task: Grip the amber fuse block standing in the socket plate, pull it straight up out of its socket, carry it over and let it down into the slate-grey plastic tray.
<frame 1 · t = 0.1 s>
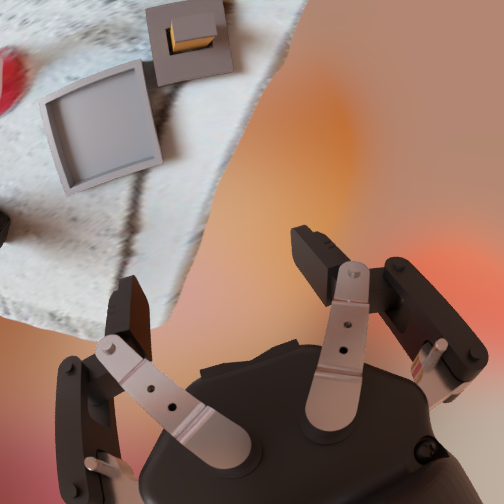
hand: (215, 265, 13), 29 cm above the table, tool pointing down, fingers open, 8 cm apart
grey tray: (101, 126, 31), on the table
socket plate: (187, 41, 28), on the table
amber fuse: (190, 34, 25), in the socket plate
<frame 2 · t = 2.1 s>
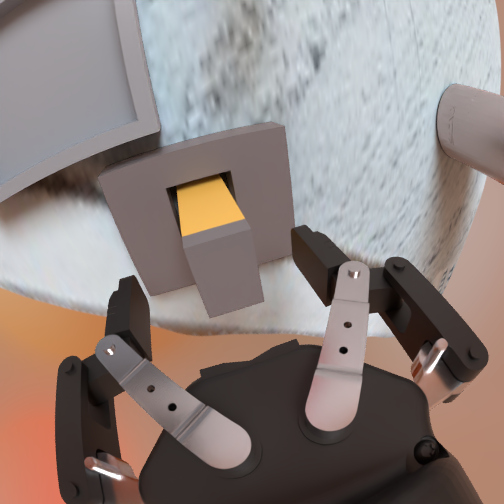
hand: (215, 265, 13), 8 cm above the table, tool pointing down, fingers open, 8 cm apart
grey tray: (39, 70, 11), on the table
socket plate: (203, 203, 20), on the table
amber fuse: (212, 232, 17), in the socket plate
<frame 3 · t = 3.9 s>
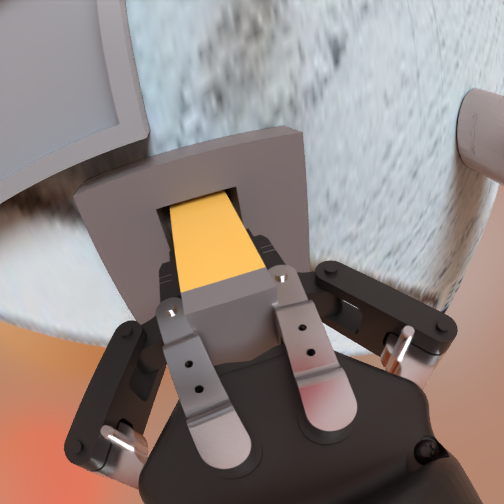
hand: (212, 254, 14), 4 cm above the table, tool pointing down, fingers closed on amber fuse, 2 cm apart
grey tray: (9, 66, 7), on the table
socket plate: (202, 223, 17), on the table
amber fuse: (216, 265, 13), in the socket plate, touching gripper
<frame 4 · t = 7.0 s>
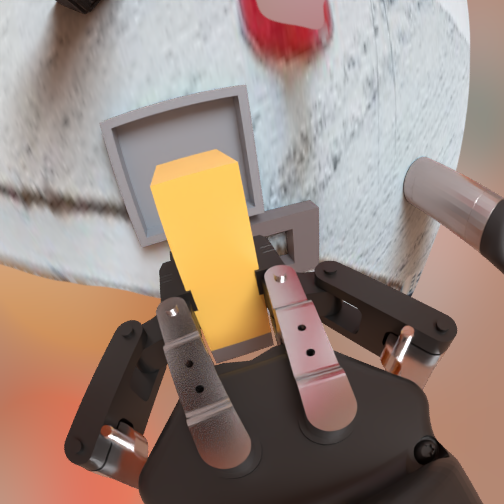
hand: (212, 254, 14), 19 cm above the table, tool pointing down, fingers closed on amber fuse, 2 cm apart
grey tray: (185, 161, 29), on the table
socket plate: (272, 241, 39), on the table
amber fuse: (214, 257, 13), point 20 cm above the table, tilted 84°, touching gripper
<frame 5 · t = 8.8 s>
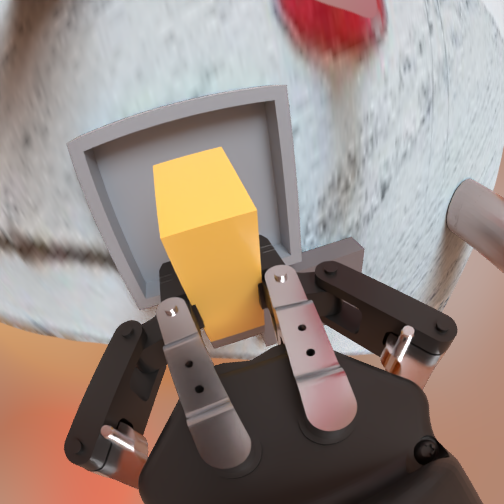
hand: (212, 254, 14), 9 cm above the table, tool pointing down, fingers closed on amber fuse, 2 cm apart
grey tray: (194, 193, 22), on the table
socket plate: (304, 287, 31), on the table
amber fuse: (215, 261, 13), point 10 cm above the table, tilted 105°, touching gripper
when the fingers open (6 cm above the table, at t = 10.2 s): amber fuse drops 4 cm and tips over, resting on grey tray.
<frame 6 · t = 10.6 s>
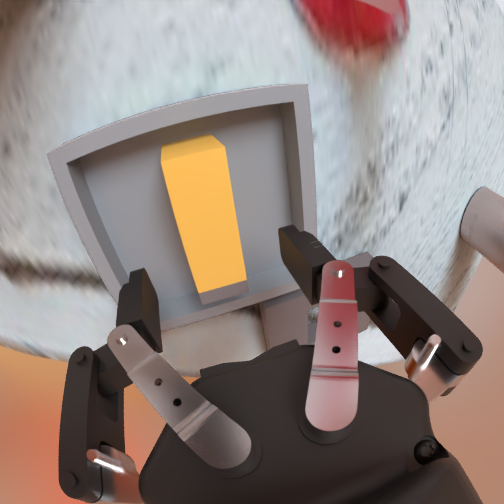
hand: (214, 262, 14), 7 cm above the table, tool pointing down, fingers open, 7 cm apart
grey tray: (197, 208, 19), on the table
socket plate: (315, 305, 28), on the table
amber fuse: (204, 218, 16), in the grey tray, point 3 cm above the table, tilted 90°
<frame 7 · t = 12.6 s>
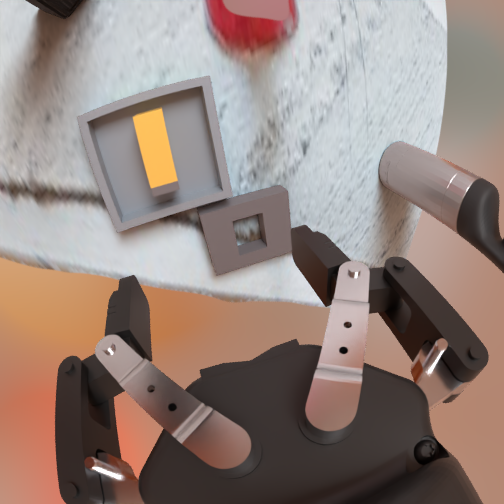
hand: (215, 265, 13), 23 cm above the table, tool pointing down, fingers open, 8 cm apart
grey tray: (156, 150, 30), on the table
socket plate: (245, 226, 40), on the table
amber fuse: (156, 149, 27), in the grey tray, point 3 cm above the table, tilted 90°
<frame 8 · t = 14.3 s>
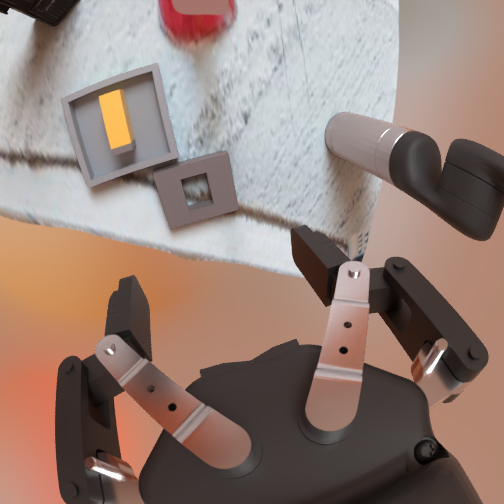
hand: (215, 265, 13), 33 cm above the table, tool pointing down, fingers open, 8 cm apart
grey tray: (121, 123, 35), on the table
socket plate: (195, 187, 45), on the table
portable radio: (57, 8, 19), on the table
amber fuse: (117, 121, 32), in the grey tray, point 3 cm above the table, tilted 90°
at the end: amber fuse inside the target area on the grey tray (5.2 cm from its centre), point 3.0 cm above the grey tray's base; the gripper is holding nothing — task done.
